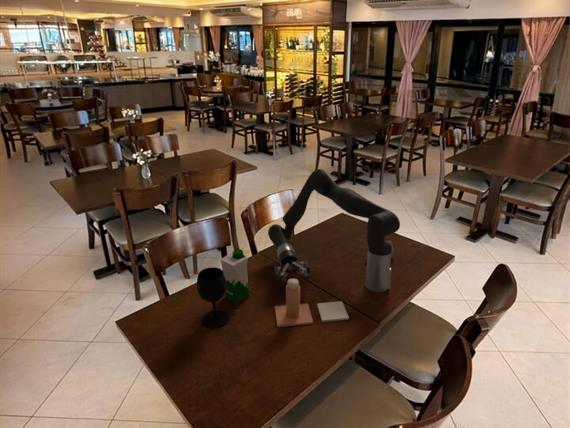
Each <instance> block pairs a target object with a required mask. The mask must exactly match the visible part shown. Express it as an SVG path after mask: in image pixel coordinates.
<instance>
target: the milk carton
mask: <svg viewBox="0 0 570 428" xmlns="http://www.w3.org/2000/svg"><path fill="white" fill-rule="evenodd" d="M248 260H249V257H248V256H246V255H245V254H244V250H242V249H239V248H236V249H234V250H232V253H230V254H227V255H225V256H224V257H222V258H220V263H221V267H222V271H223V273H224V276H225V279H226V292H225V294H224V297H225V298H227V299H228V300H230V301H231V302H232V303H233V304H234V303H235V304H238V303H241V301H243V300H245V299H247V298H249V297H250V289H249V288H250V287H249V282H248V280H249V279H248Z"/></svg>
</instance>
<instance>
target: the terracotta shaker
mask: <svg viewBox="0 0 570 428" xmlns="http://www.w3.org/2000/svg"><path fill="white" fill-rule="evenodd" d="M286 282H287V285H286V286H285V305H286V315H287V316H288V317H289V318H297V317H299V316H300V304H301V286H300V283H299V280H298V279H297V278H289V279H288V280H286Z"/></svg>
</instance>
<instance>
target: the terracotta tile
mask: <svg viewBox="0 0 570 428" xmlns="http://www.w3.org/2000/svg"><path fill="white" fill-rule="evenodd" d="M274 311H275V319H276V326H277V328H280V327H292V326H293V327H294V326H302V325H303V326H304V325H314V320H313V317H312V314H311V309H310V307H309V303H300V316H299V317H297V318H289V317H288V316H287V315H286V304H285V305H275V306H274Z"/></svg>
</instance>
